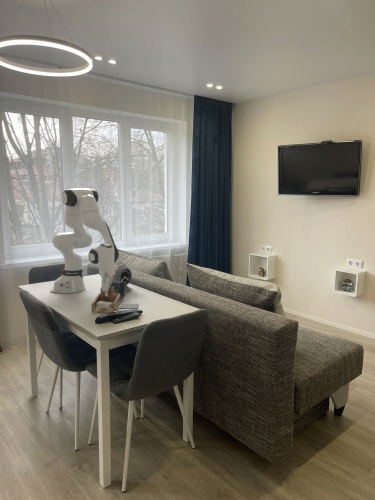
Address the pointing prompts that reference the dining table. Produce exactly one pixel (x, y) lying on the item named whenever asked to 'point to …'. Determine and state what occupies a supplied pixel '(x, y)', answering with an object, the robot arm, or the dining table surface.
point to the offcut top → (105, 304)
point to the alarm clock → (123, 276)
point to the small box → (118, 288)
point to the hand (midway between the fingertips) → (107, 294)
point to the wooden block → (110, 295)
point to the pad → (129, 306)
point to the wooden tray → (115, 305)
